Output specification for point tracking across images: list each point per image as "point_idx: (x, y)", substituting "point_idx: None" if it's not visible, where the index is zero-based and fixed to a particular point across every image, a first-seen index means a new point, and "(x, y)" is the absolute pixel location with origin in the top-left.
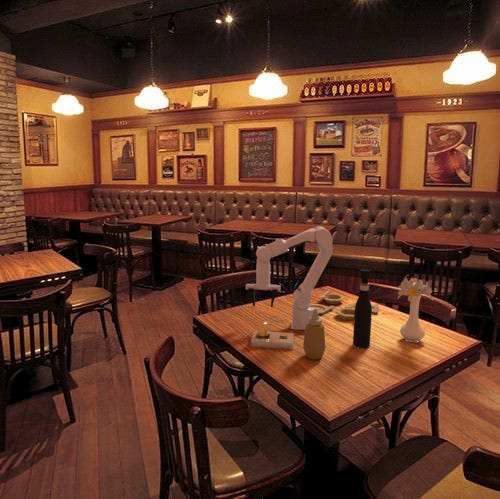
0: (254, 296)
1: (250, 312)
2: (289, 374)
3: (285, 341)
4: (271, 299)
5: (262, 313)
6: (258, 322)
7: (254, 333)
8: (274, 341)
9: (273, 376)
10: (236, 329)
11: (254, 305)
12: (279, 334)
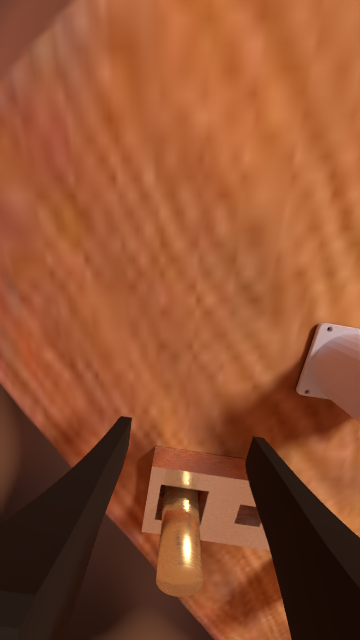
0: (94, 513)
1: (129, 161)
2: (230, 613)
3: (251, 540)
4: (275, 564)
5: (194, 180)
6: (159, 579)
7: (152, 487)
8: (216, 539)
9: (196, 617)
10: (86, 386)
11: (126, 452)
12: (240, 496)
